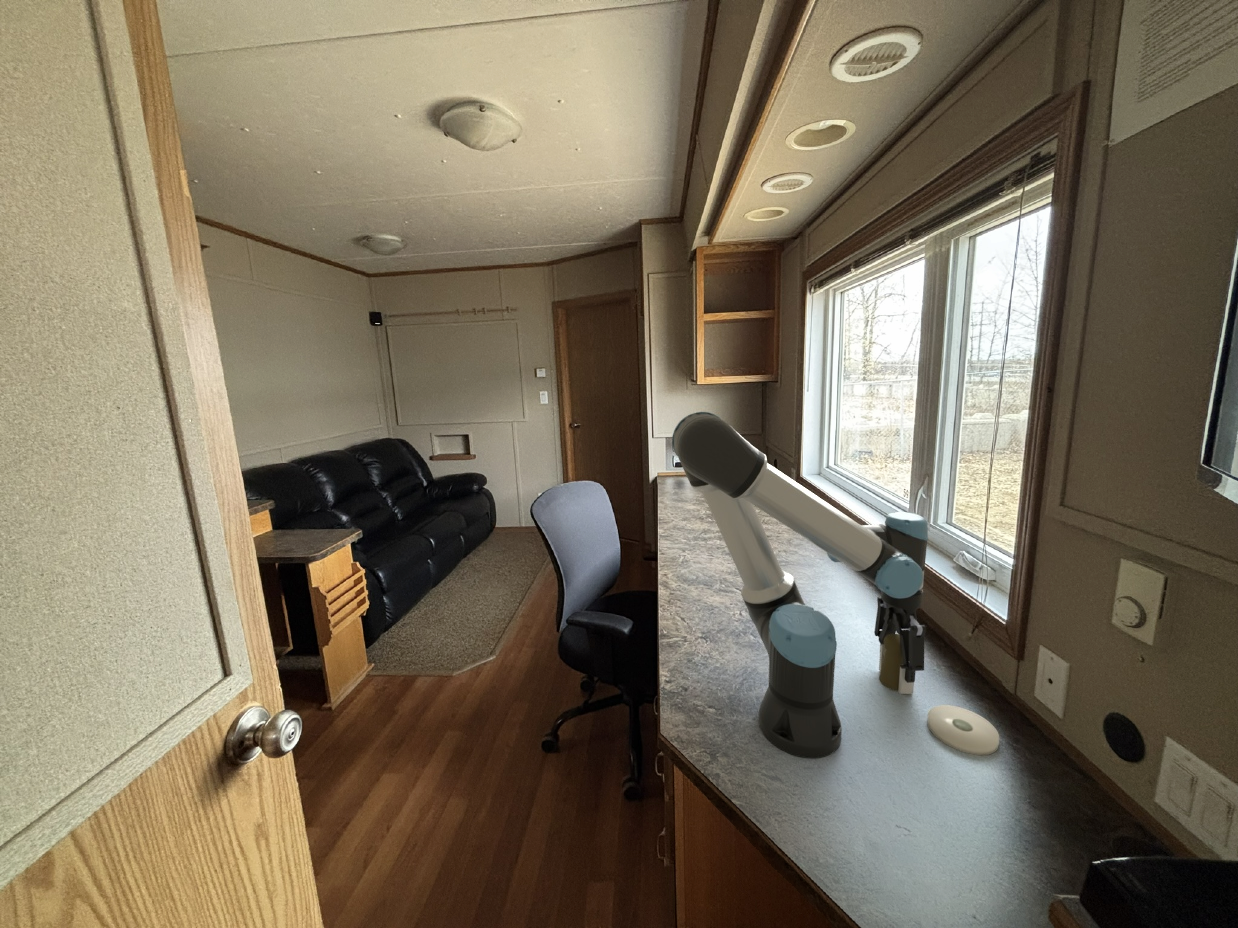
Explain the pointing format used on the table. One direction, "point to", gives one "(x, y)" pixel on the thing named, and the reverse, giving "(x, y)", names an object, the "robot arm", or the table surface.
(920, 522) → the robot arm
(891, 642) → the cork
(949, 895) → the table surface
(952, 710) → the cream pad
